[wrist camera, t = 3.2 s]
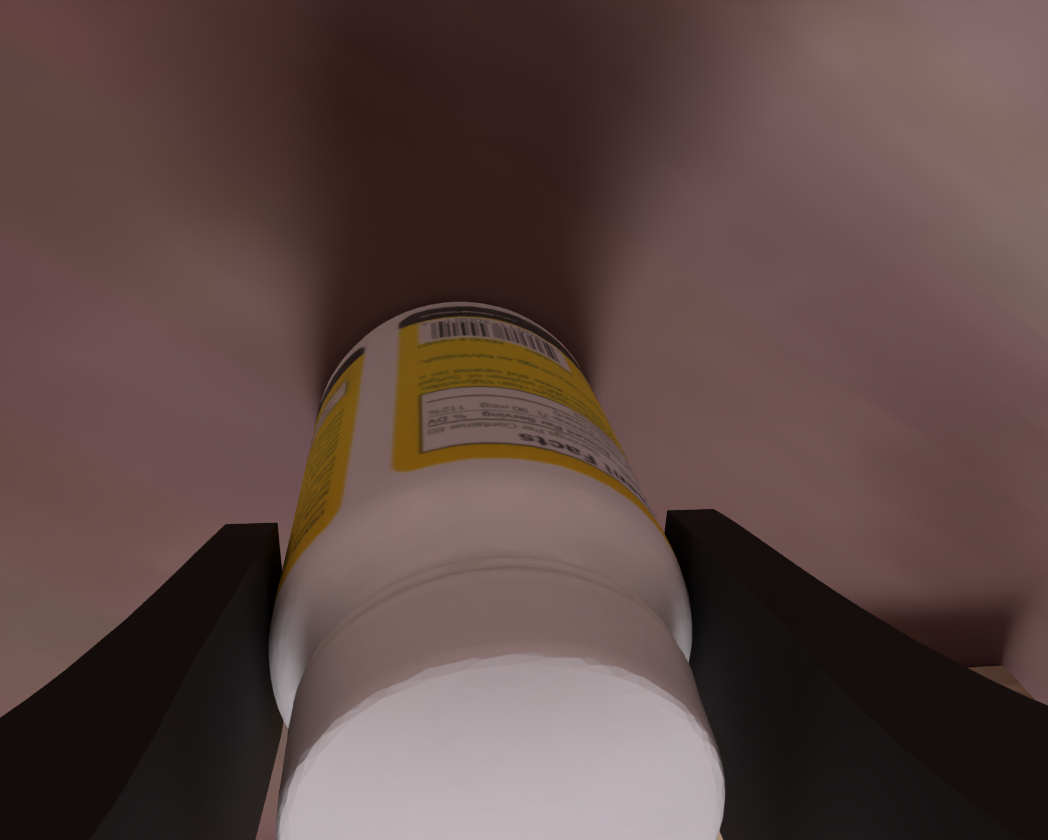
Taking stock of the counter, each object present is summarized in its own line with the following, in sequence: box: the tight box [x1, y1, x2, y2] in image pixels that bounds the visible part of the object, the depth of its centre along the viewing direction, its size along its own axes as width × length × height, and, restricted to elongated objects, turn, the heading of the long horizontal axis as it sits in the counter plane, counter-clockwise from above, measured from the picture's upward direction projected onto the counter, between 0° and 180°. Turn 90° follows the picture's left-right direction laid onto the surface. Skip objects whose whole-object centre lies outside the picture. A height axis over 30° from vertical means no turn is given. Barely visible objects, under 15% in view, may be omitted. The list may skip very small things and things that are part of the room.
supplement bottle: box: [268, 302, 725, 840], centre depth 11 cm, size 5×5×8 cm
